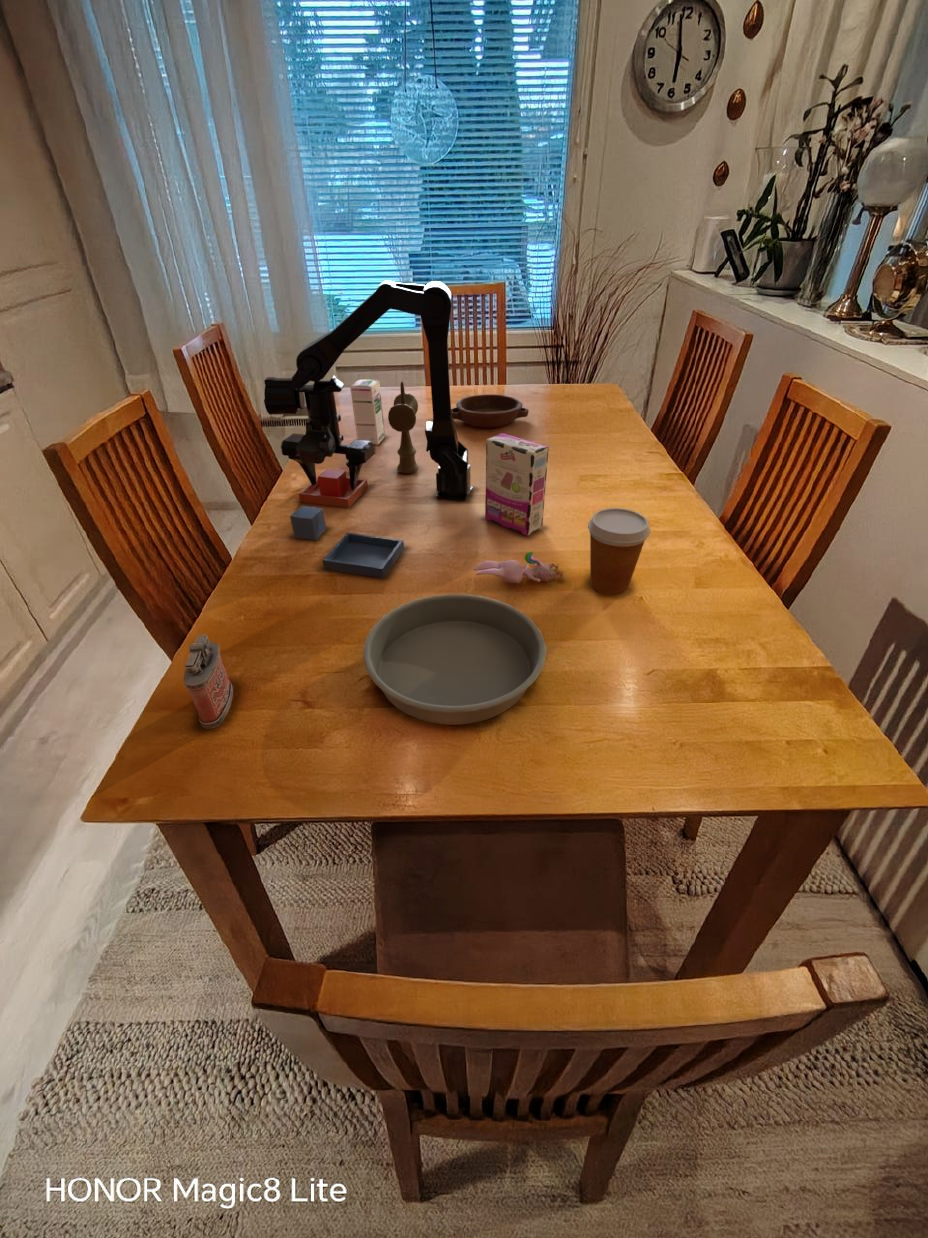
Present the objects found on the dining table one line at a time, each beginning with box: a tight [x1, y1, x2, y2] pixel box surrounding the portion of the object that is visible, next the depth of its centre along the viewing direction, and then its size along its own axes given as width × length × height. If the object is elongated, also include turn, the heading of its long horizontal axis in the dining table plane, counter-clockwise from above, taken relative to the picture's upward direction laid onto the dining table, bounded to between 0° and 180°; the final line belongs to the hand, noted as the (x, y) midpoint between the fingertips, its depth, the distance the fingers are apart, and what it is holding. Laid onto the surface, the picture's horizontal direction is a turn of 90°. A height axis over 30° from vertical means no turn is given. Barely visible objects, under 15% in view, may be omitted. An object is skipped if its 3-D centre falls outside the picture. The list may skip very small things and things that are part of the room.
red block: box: [317, 467, 349, 497], centre depth 125 cm, size 4×4×4 cm
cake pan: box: [362, 593, 547, 726], centre depth 81 cm, size 25×25×4 cm
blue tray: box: [322, 532, 405, 579], centre depth 105 cm, size 11×10×2 cm
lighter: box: [183, 634, 234, 730], centre depth 74 cm, size 8×3×10 cm, turn 5°
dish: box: [451, 393, 530, 429], centre depth 162 cm, size 18×22×5 cm
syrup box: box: [349, 379, 386, 446], centre depth 148 cm, size 6×6×14 cm
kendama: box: [387, 381, 419, 474], centre depth 131 cm, size 6×10×20 cm, turn 179°
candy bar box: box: [484, 432, 550, 537], centre depth 111 cm, size 11×5×16 cm, turn 47°
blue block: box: [289, 505, 327, 541], centre depth 112 cm, size 4×4×4 cm
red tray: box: [298, 476, 369, 509], centre depth 127 cm, size 11×10×2 cm
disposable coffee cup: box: [587, 507, 651, 596], centre depth 95 cm, size 10×10×12 cm
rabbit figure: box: [473, 551, 564, 585], centre depth 98 cm, size 6×6×15 cm
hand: (333, 486), depth 126 cm, fingers open, 9 cm apart
